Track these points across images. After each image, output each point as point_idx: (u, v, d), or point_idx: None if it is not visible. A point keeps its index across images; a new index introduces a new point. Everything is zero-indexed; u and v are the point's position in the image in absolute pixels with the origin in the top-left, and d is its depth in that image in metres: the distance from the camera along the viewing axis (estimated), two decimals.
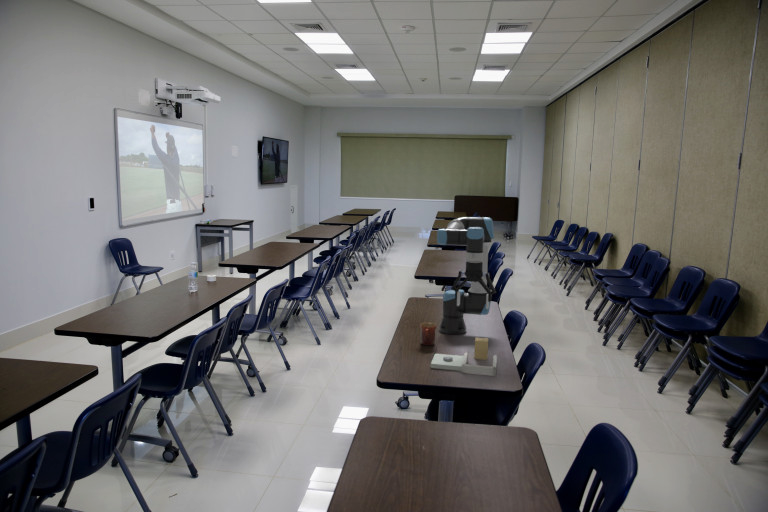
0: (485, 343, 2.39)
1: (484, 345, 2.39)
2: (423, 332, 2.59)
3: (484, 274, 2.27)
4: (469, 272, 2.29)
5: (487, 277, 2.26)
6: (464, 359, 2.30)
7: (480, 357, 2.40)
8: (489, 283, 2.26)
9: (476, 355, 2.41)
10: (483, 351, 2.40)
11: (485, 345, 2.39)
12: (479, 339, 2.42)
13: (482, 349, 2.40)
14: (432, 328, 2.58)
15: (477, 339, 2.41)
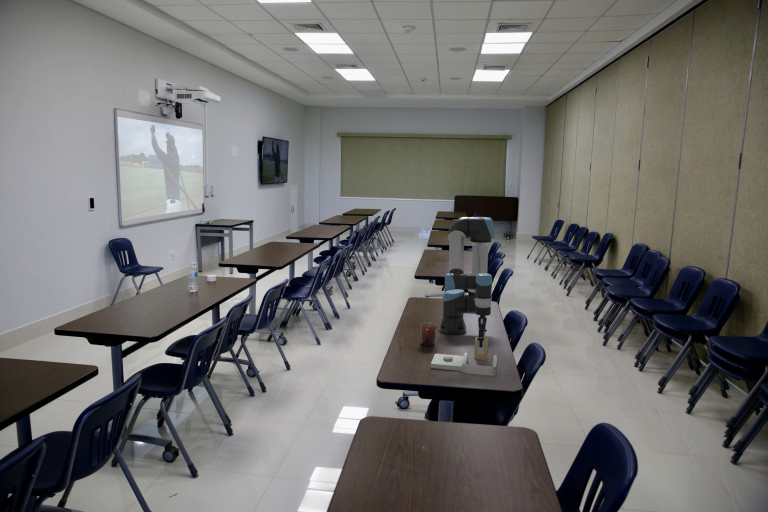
0: (485, 343, 2.39)
1: (484, 345, 2.39)
2: (423, 332, 2.59)
3: None
4: None
5: (479, 323, 2.34)
6: (464, 359, 2.30)
7: (480, 357, 2.40)
8: None
9: (476, 355, 2.41)
10: None
11: (485, 345, 2.39)
12: None
13: None
14: (432, 328, 2.58)
15: None
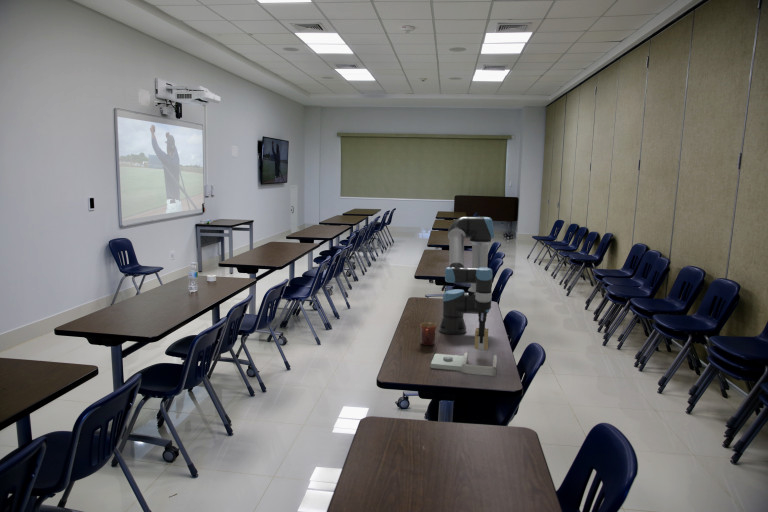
0: (485, 333, 2.39)
1: (484, 336, 2.39)
2: (423, 332, 2.59)
3: (481, 316, 2.35)
4: None
5: (479, 320, 2.35)
6: (464, 359, 2.30)
7: None
8: (479, 325, 2.36)
9: (476, 345, 2.41)
10: None
11: (485, 336, 2.39)
12: None
13: None
14: (432, 328, 2.58)
15: (477, 330, 2.41)
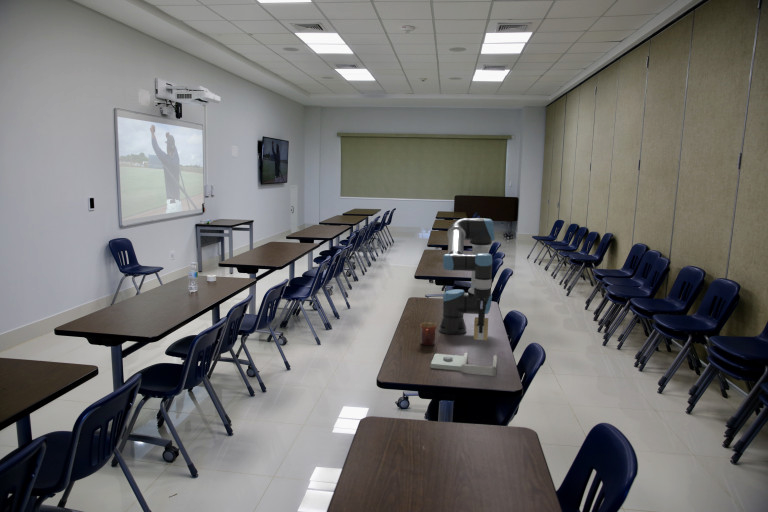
0: (485, 322, 2.26)
1: (484, 325, 2.27)
2: (423, 332, 2.59)
3: (480, 304, 2.23)
4: None
5: (478, 308, 2.23)
6: (464, 359, 2.30)
7: None
8: None
9: (475, 335, 2.28)
10: None
11: (485, 325, 2.26)
12: None
13: None
14: (432, 328, 2.58)
15: (476, 319, 2.28)
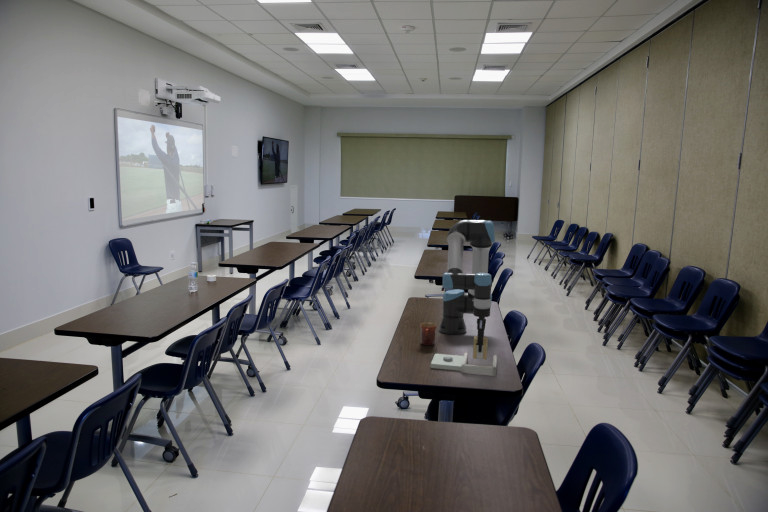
0: (484, 342, 2.28)
1: (483, 344, 2.28)
2: (423, 332, 2.59)
3: (479, 323, 2.25)
4: None
5: (477, 327, 2.24)
6: (464, 359, 2.30)
7: None
8: None
9: (474, 354, 2.29)
10: None
11: (484, 344, 2.28)
12: None
13: None
14: (432, 328, 2.58)
15: (476, 338, 2.30)
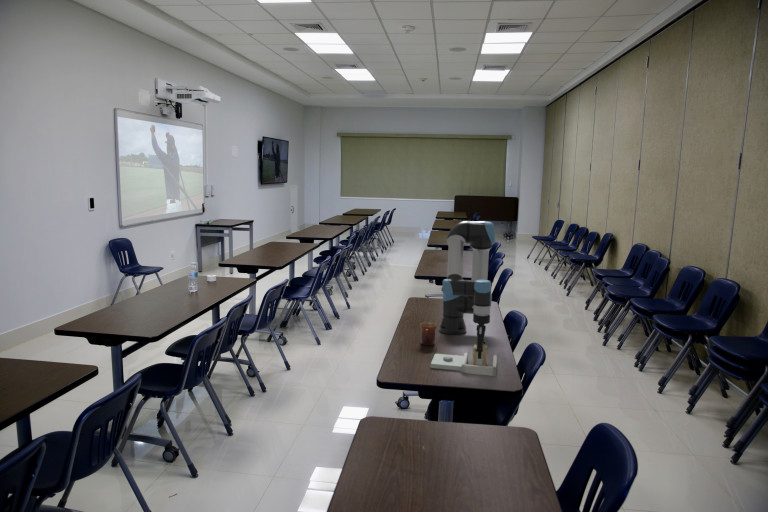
0: (484, 350, 2.28)
1: (483, 353, 2.29)
2: (423, 332, 2.59)
3: (479, 329, 2.25)
4: None
5: (477, 333, 2.24)
6: (464, 359, 2.30)
7: (479, 365, 2.30)
8: (477, 339, 2.24)
9: (474, 363, 2.30)
10: None
11: (484, 353, 2.28)
12: None
13: None
14: (432, 328, 2.58)
15: (475, 347, 2.30)
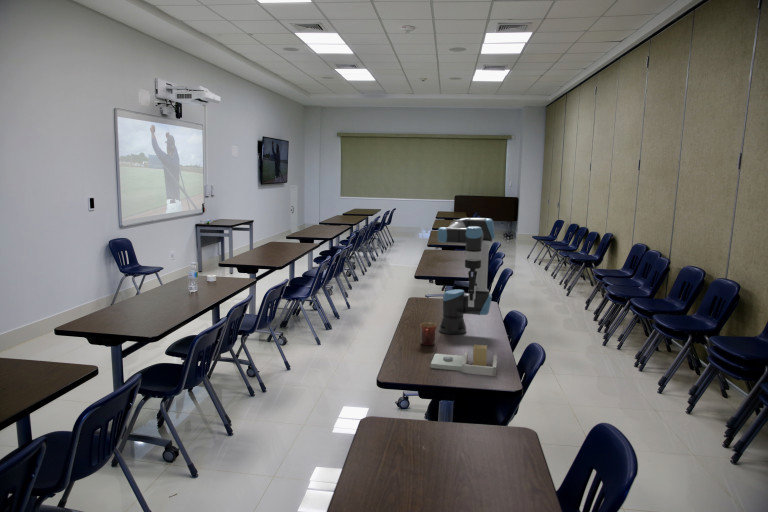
0: (484, 350, 2.28)
1: (483, 353, 2.29)
2: (423, 332, 2.59)
3: None
4: None
5: (469, 276, 2.33)
6: (464, 359, 2.30)
7: (479, 365, 2.30)
8: (469, 282, 2.32)
9: (474, 363, 2.30)
10: (482, 359, 2.29)
11: (484, 353, 2.28)
12: (478, 346, 2.31)
13: (481, 357, 2.29)
14: (432, 328, 2.58)
15: (475, 347, 2.30)
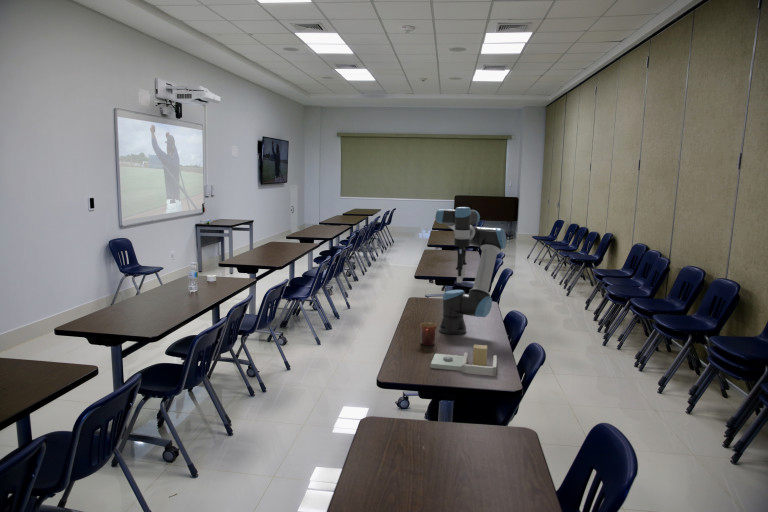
0: (484, 350, 2.28)
1: (483, 353, 2.29)
2: (423, 332, 2.59)
3: None
4: None
5: (458, 253, 2.46)
6: (464, 359, 2.30)
7: (479, 365, 2.30)
8: None
9: (474, 363, 2.30)
10: (482, 359, 2.29)
11: (484, 353, 2.28)
12: (478, 346, 2.31)
13: (481, 357, 2.29)
14: (432, 328, 2.58)
15: (475, 347, 2.30)
